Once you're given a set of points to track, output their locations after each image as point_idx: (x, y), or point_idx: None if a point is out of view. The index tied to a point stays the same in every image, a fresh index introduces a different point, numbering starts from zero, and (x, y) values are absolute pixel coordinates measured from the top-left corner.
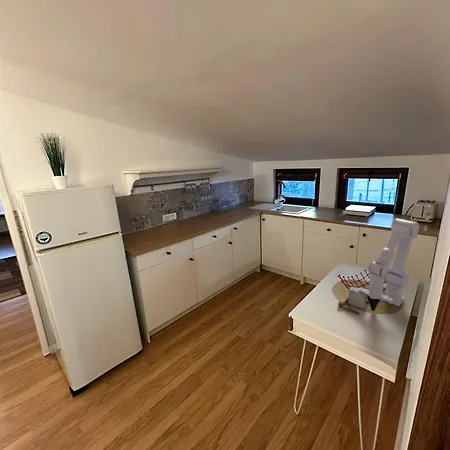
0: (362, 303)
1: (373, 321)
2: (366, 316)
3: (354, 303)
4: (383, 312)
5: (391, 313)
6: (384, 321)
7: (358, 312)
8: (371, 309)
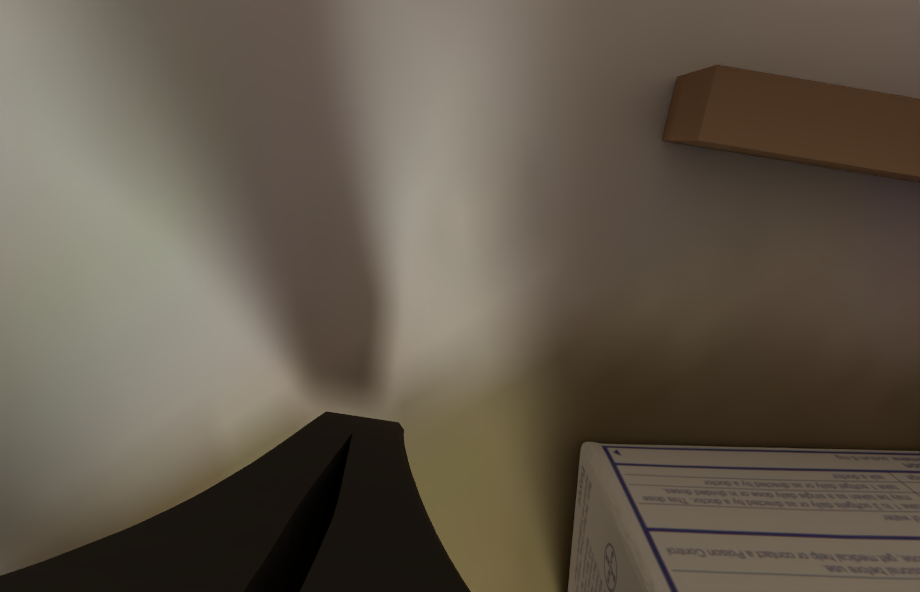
0: (691, 546)
1: (252, 10)
2: (466, 151)
3: (879, 493)
4: None
5: None
6: (28, 186)
7: (720, 72)
8: (384, 428)
